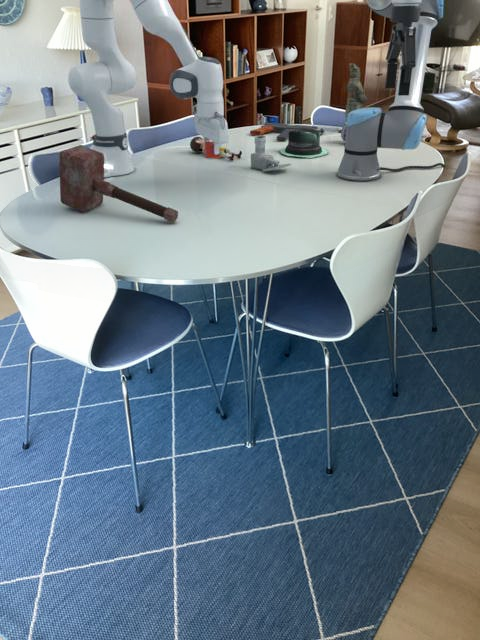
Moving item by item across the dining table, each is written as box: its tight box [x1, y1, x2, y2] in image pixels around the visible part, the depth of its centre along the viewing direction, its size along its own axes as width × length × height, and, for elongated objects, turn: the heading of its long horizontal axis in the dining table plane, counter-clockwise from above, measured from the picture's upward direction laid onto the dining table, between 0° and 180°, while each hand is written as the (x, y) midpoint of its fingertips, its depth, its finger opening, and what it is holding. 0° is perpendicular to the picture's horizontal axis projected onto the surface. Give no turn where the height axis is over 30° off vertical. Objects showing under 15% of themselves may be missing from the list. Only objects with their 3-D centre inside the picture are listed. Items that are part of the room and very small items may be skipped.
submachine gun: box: [249, 122, 325, 141], centre depth 263 cm, size 32×3×25 cm
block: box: [204, 141, 221, 159], centre depth 194 cm, size 4×5×5 cm
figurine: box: [189, 136, 243, 162], centre depth 232 cm, size 13×8×25 cm
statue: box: [344, 62, 368, 123], centre depth 262 cm, size 11×9×30 cm
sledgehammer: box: [59, 144, 179, 223], centre depth 170 cm, size 17×10×40 cm
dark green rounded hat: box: [279, 128, 328, 159], centre depth 234 cm, size 15×19×20 cm
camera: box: [250, 134, 292, 173], centre depth 210 cm, size 9×12×15 cm
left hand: (212, 151), depth 194 cm, fingers closed on block, 5 cm apart
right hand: (396, 91), depth 157 cm, fingers open, 13 cm apart
